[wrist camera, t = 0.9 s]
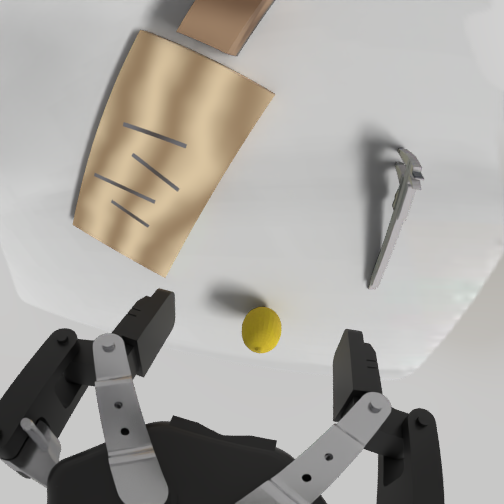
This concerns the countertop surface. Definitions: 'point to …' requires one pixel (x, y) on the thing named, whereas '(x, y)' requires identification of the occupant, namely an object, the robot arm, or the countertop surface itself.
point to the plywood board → (163, 148)
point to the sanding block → (224, 22)
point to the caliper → (398, 210)
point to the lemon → (261, 329)
